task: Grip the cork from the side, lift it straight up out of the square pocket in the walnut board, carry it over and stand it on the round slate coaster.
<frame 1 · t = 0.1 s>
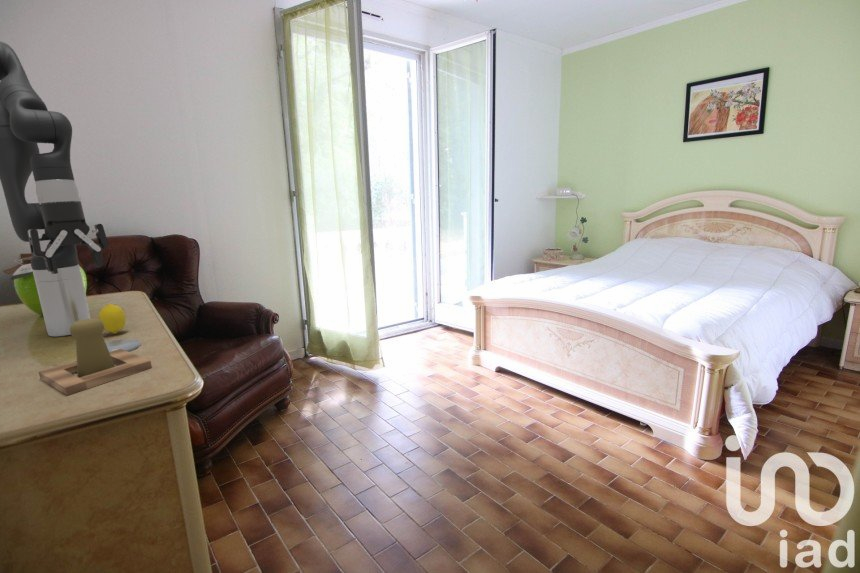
hand: (77, 270, 104), 17 cm above the dresser top, tool pointing down, fingers open, 8 cm apart
lemon: (115, 334, 111), on the dresser top
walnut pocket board: (97, 373, 86), on the dresser top
cork: (97, 374, 87), resting in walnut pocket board
slate coaster: (115, 348, 100), on the dresser top
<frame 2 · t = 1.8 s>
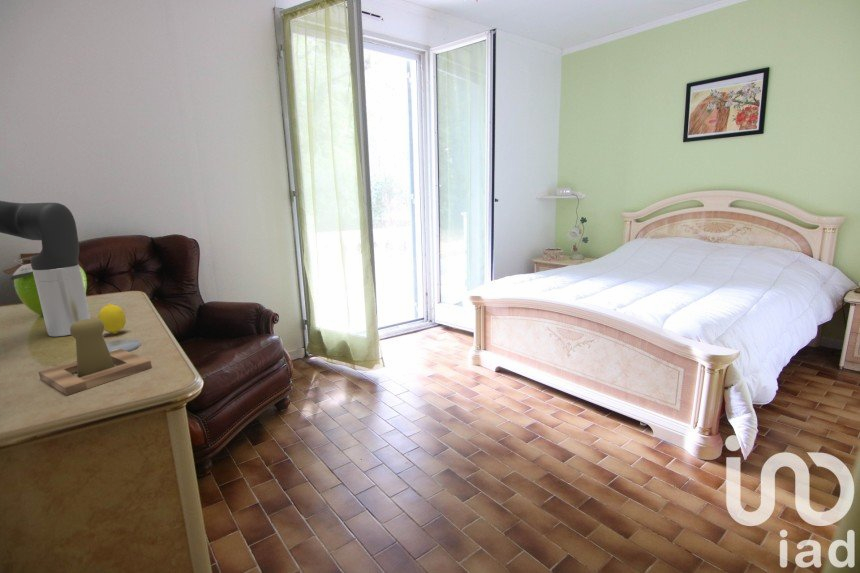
nothing on the dresser top moved.
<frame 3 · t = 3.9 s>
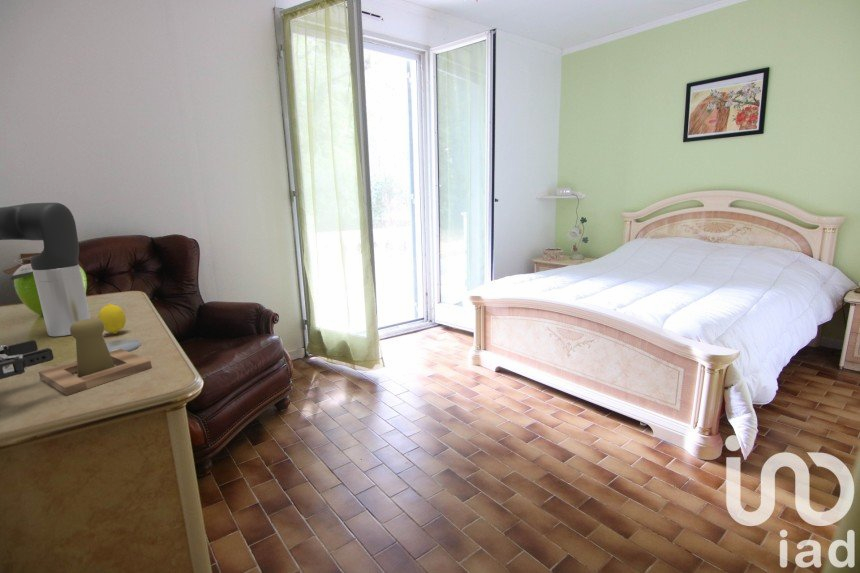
hand: (43, 349, 79), 7 cm above the dresser top, tool horizontal, fingers open, 8 cm apart
nothing on the dresser top moved.
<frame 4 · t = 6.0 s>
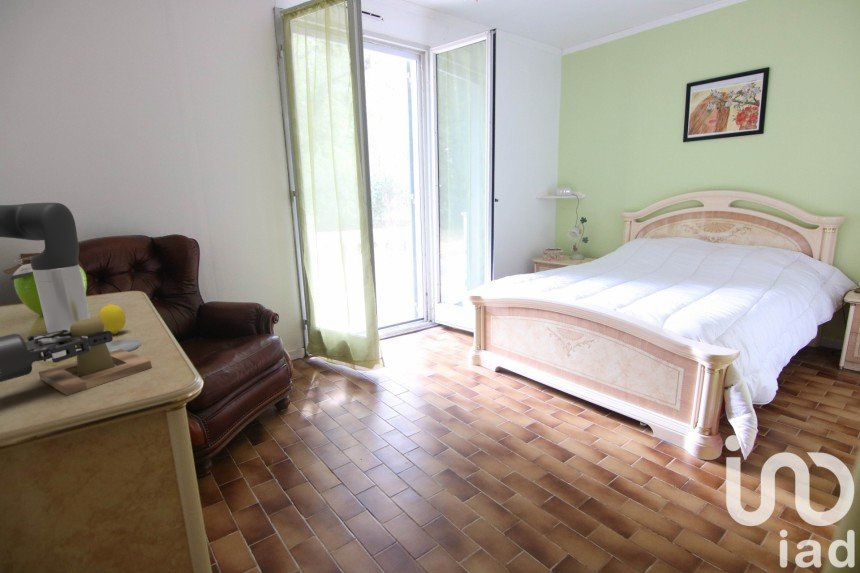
hand: (104, 333, 87), 8 cm above the dresser top, tool horizontal, fingers closed on cork, 5 cm apart
cork: (97, 374, 87), resting in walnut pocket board, touching gripper
everything else where it was.
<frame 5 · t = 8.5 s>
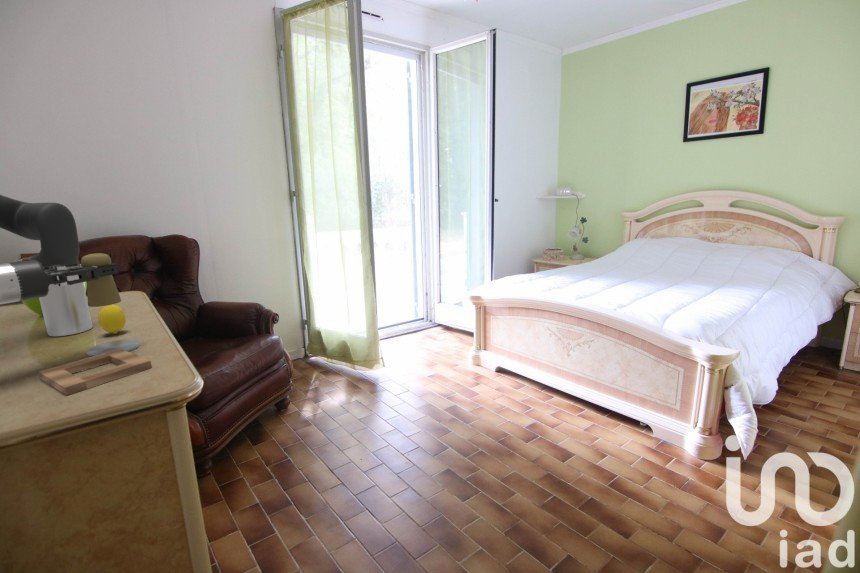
hand: (111, 267, 97), 19 cm above the dresser top, tool horizontal, fingers closed on cork, 5 cm apart
cork: (105, 304, 97), point 11 cm above the dresser top, touching gripper
everything else where it was.
when the fingers open (9 cm above the dresser top, at t = 11.0 s): cork drops 1 cm, resting on slate coaster.
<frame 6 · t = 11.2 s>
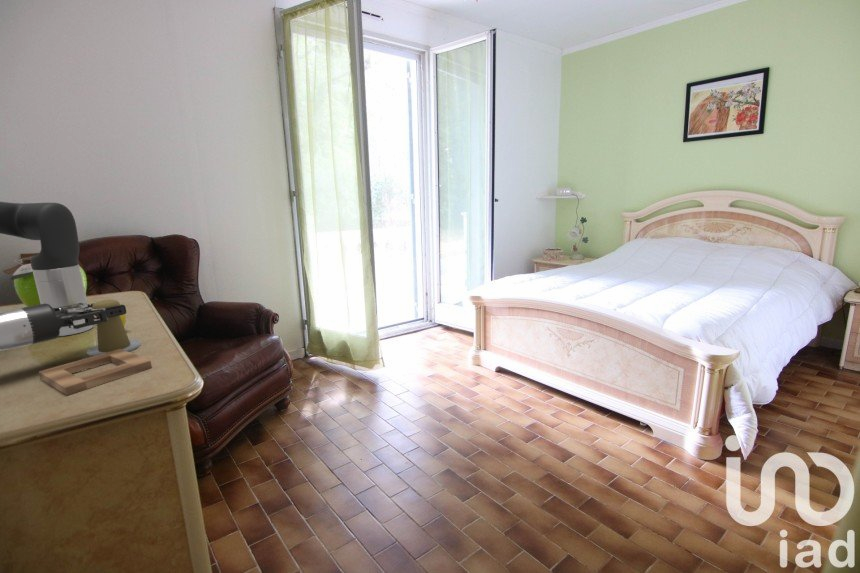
hand: (117, 306, 100), 9 cm above the dresser top, tool horizontal, fingers open, 7 cm apart
cork: (114, 348, 99), resting on slate coaster
everything else where it was.
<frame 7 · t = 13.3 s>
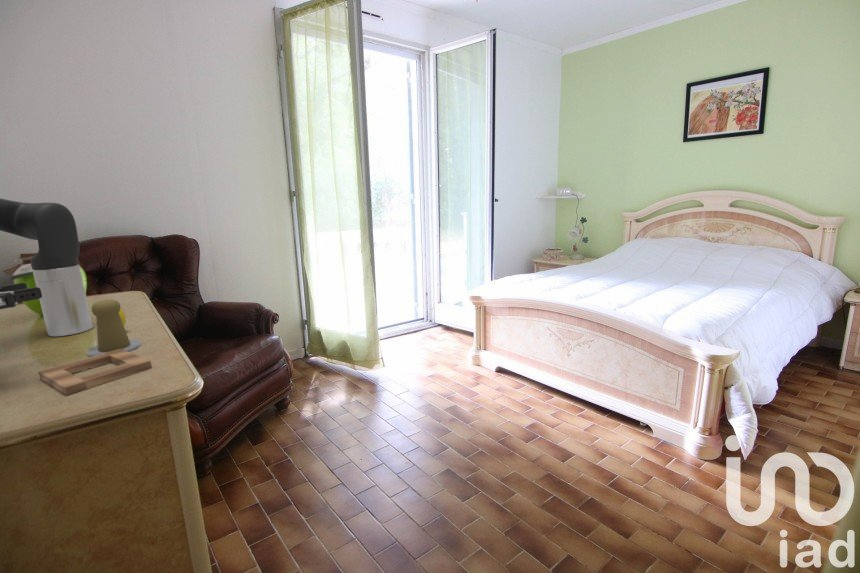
hand: (33, 289, 87), 16 cm above the dresser top, tool horizontal, fingers open, 8 cm apart
nothing on the dresser top moved.
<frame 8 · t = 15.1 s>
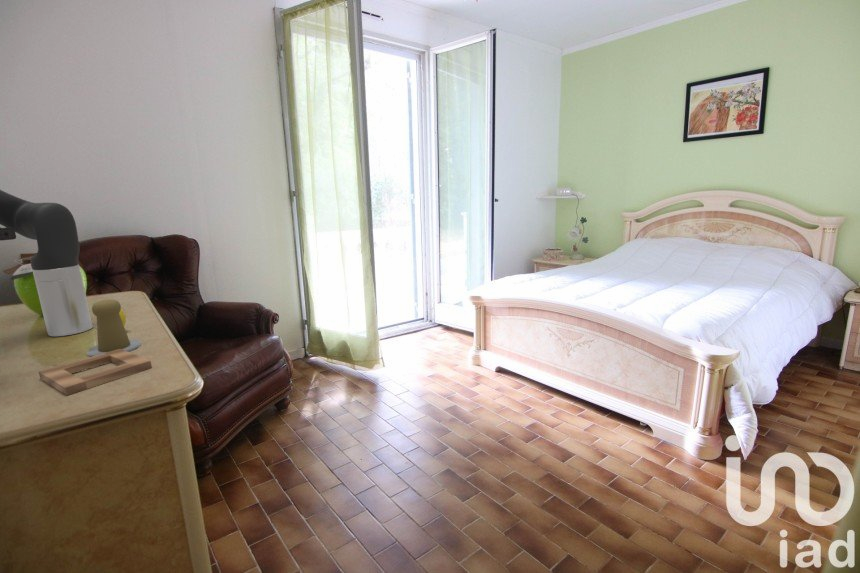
hand: (8, 232, 83), 28 cm above the dresser top, tool horizontal, fingers open, 8 cm apart
nothing on the dresser top moved.
at the end: cork inside the target area on the slate coaster (0.7 cm from its centre), point 0.4 cm above the slate coaster's base; cork tilted 0°; the gripper is holding nothing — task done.
